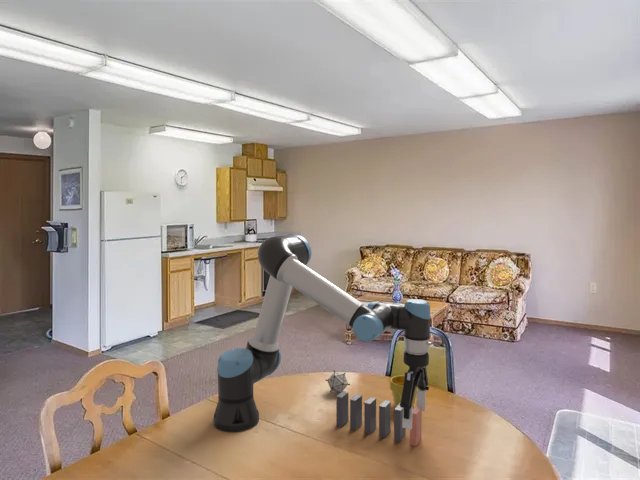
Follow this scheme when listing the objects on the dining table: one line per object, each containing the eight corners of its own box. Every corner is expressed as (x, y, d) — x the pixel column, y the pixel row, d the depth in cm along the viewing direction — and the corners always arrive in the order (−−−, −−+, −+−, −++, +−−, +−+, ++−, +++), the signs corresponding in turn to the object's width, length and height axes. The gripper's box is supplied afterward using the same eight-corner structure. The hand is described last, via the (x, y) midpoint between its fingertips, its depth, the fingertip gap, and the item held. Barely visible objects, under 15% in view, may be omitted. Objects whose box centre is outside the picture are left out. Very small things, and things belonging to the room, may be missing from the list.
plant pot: (424, 410, 161) (425, 383, 161) (399, 415, 158) (399, 387, 157) (408, 398, 171) (409, 373, 170) (384, 403, 167) (384, 377, 166)
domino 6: (421, 439, 141) (421, 407, 141) (416, 446, 137) (416, 414, 136) (415, 437, 142) (415, 406, 142) (409, 444, 138) (410, 412, 137)
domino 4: (378, 436, 143) (379, 405, 142) (384, 429, 147) (384, 399, 147) (384, 438, 142) (385, 407, 141) (390, 431, 146) (390, 401, 146)
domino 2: (350, 429, 148) (350, 399, 147) (356, 422, 152) (356, 393, 151) (355, 430, 147) (355, 400, 146) (362, 424, 151) (362, 395, 150)
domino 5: (394, 440, 141) (394, 409, 140) (399, 433, 145) (399, 403, 144) (400, 442, 140) (400, 410, 139) (405, 435, 144) (405, 404, 143)
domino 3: (364, 432, 145) (364, 402, 145) (370, 426, 150) (370, 396, 149) (370, 434, 144) (370, 403, 144) (376, 427, 149) (376, 398, 148)
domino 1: (336, 425, 150) (336, 396, 150) (343, 419, 155) (343, 390, 154) (341, 427, 149) (341, 397, 149) (348, 420, 154) (348, 392, 153)
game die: (342, 400, 178) (358, 381, 178) (332, 400, 172) (348, 380, 171) (327, 384, 184) (343, 365, 183) (317, 383, 177) (332, 363, 176)
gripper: (415, 365, 125) (413, 440, 127) (439, 342, 147) (437, 405, 149) (390, 361, 129) (388, 433, 130) (416, 338, 150) (414, 400, 152)
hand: (414, 418), depth 139 cm, fingers open, 13 cm apart
